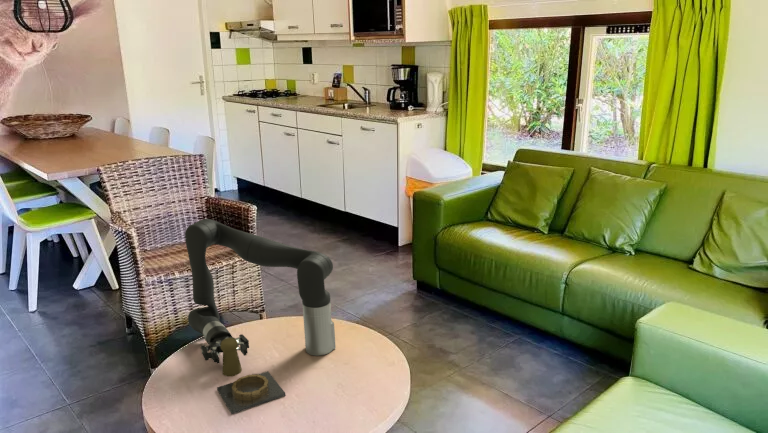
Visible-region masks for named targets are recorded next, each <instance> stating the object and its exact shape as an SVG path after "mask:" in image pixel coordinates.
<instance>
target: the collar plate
mask: <svg viewBox="0 0 768 433" xmlns="http://www.w3.org/2000/svg"><path fill="white" fill-rule="evenodd" d="M271 374H272V373H271V372H269V371H264V372H261V373H257V374H247V375H244V376H241V377H238V378H237V379H236V380H235V381H232V382H230V383H228V384H227V383H226V384H223V385H221V386H220V385H219V386H218V387H216V391H217V392H218V394H219V396H220V397H221V399H222V401H223V403H224V404H225V406H226V407H227V409H228V411H229V412H230V413H231V415H234V414H237V413H240V412H243V411H245V410H249V409H251V408H254V407H257V406H260V405H263V404H266V403H268V402H273V401H274V400H278V399H280V398H283V397H285V396H286V392H285V391H284V389H283V388H282V386H281V385H280V384H279V383H278V382H277V380H276V379H275V378H274V377H273V376H272V375H271Z"/></svg>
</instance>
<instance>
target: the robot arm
mask: <svg viewBox="0 0 768 433" xmlns="http://www.w3.org/2000/svg"><path fill="white" fill-rule="evenodd" d="M184 240H185V244H186V245H185V246H186V251H187V257H188V259H189V260H188V261H189V265H190V270H191V278H192V301H193V303H194V304H196V305H199V306H204V307H200V308H194V309H192V310H190V312H189V313H188V314H187V315H188V316H187V322H188V324H189V326H190V328H191V329H192V330H194V331H195V332H198V333H200V334H202V336H203V338H204V341H205V342H206V343H207V344H208V345H207V346H206V345H205V344H202V345H201V346H200V349H201V354H202V356H203V359H204V361H209V359H211V360H212V361H213V363H215V364H220V363H221V362H220V358H219V355H220V354H223V351H222V350H221V346H220V345H221V342H222V341H223V340H224V339H226V338H234V339H236V341H237V343H238V347H237V351H240V352H241V353H242V355H243V356H247V354H248V353H249V352H248V349H249V348H250V341H249V339H248V338H247V337H246V336H245V335H244V334H243V333H241V334H239V335H238V337H233V335H232V334H231V333H230V332H229V330H228V329H227V327H226V326H225V325H224V324H223V323H222V322H221V321H220V319H221V317H220V313H219V311H218V307H217V305H216V301H215V290H214V289H215V288H214V287H215V285H214V284H215V283H214V278H213V275H212V272H211V271H210V269H209V267H208V265H207V260H206V253H207V248H209V247H211V246H213V245H218V246H222V247H225V248H227V249H231V250H233V251H234V252H235V253H236V255H237V256H239V258H241V259H242V260H244V261H246V262H248V263H251V264H253V265H257V266H261V267H265V268H266V267H267V268H291V269H296V270H297V271H296V278H297V279H296V280H297V287H298V293H299V296H300V299H301V303H302V317H303V318H302V319H303V329H304V331H303V332H304V346H305V352H306V353H307V354H308V355H311V356H317V357H318V356H324V355H327V354H329V353H331V352H332V351H333V350H336V330H335V323H334V322H333V321H332V308H331V307H332V306H331V304H332V303H331V301H332V300H331V294H330V292H329V290H326V289H325V286H326V285H325V280H326V279H327V278H328V277H329V276H330V275H331V273H332V272H333V271H334V270H333V269H334V264H333V261H332V259H331V258H330V257H329V256H328V255H326V254H325V253H322V252H320V251H315V250H310V249H306V248H305V249H304V248H299V247H295V246H292V245H289V244H285V243H283V242H282V243H281V242H280V241H276V240H272V239H269V238H267V237H263V236H261V235H257V234H252V233H249V232H245V231H243V230H239V229H236V228H232V227H230V226H228V225H226V224H223V223H221V222H219V221H216V220H214V219H210V218H204V219H201V220H199V221H196V222H195V223H192V224H190V225H189V226H188V227H187V228H186V230H185V232H184ZM209 350H210V351H209Z"/></svg>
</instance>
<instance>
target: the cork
mask: <svg viewBox="0 0 768 433" xmlns="http://www.w3.org/2000/svg"><path fill="white" fill-rule="evenodd" d="M234 338H235V337H234ZM234 338H226V339H224V340H223V341H222V342H221V345H220V346H221V350H222V351H223V353H222V368H221V371H222V372H221V373H222V376H225V377H236V376H237V375H239V374H241V372H242V371H243V369H242V365H241V361H240V357H239V353H238V350H237V347H238V343H237V341H236V339H234Z"/></svg>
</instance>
